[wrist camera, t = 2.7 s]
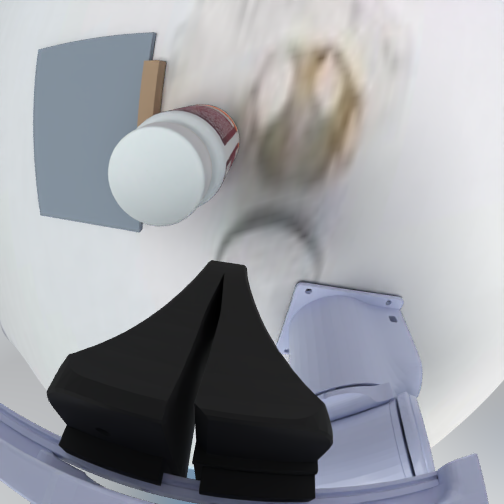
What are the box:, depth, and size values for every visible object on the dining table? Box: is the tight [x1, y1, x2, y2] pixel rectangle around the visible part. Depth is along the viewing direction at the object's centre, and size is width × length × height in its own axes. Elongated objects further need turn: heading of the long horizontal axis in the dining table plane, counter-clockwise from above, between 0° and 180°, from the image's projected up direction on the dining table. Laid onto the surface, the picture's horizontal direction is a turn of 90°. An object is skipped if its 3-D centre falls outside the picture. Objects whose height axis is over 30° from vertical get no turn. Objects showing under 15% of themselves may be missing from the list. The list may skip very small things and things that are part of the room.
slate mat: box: [33, 32, 166, 232], centre depth 17 cm, size 11×14×1 cm
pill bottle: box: [108, 104, 239, 226], centre depth 14 cm, size 5×5×8 cm
